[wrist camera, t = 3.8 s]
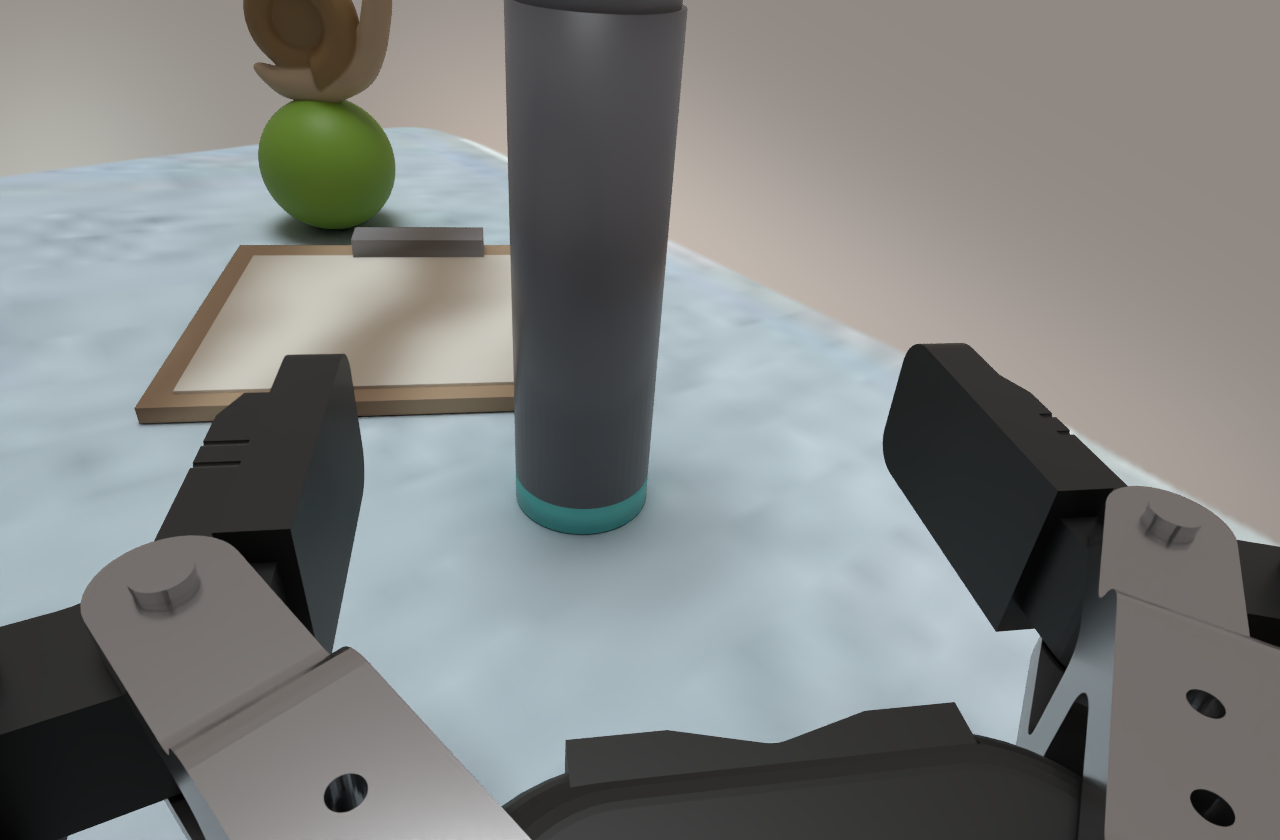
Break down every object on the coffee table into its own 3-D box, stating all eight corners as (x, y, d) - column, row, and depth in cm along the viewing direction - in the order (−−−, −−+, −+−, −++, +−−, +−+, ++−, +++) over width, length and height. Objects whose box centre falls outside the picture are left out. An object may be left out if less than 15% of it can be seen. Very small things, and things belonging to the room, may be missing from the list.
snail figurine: (399, 255, 34) (363, -84, 27) (248, 241, 34) (176, -98, 27) (437, 212, 38) (415, -88, 32) (304, 200, 39) (254, -100, 32)
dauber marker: (518, 538, 20) (503, -90, 13) (514, 456, 23) (500, -97, 16) (655, 530, 20) (714, -75, 13) (635, 451, 23) (674, -86, 16)
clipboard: (139, 423, 23) (126, 383, 22) (242, 257, 33) (235, 225, 32) (633, 406, 25) (635, 370, 24) (591, 256, 35) (591, 227, 34)
